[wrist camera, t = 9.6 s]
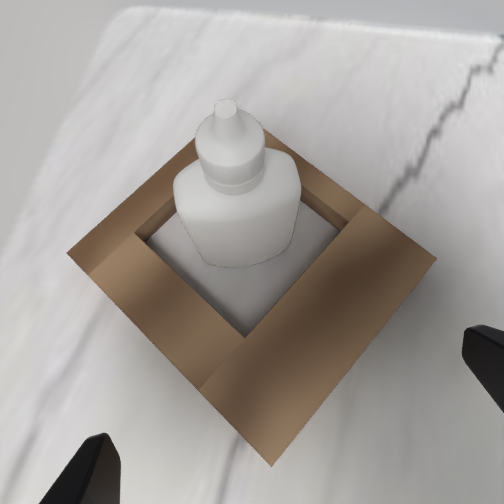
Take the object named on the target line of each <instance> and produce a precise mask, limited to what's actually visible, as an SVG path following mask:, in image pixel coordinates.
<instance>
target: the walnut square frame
mask: <svg viewBox="0 0 504 504" xmlns="http://www.w3.org/2000/svg"><path fill="white" fill-rule="evenodd" d="M263 131H264V134H265V147H266V148H271V149H275V150H279V151H282V152H285V153H286V154H288V155H290V156H291V157H292V159H293V160H294V162H295V165H296V168H297V171H298V174H299V178H300V183H301V197H300V200H301V201H303V202H304V203H305V204H306V205H308V206H309V207H310V208H311V209H313V210H314V211H315V212H317V213H318V214H319V215H320V216H322V217H323V218H324V219H325V220H327V221H328V222H329V223H331V224H332V225H333V226H334V227H336V228H337V229H338V230H339V231H341V232H340V233H339V234H338V235H337V236H336V237H335V239H334V240H333V241H332V242H331V243H330V244H329V245H328V246H327V247H326V249H325V250H324V251H323V252H322V253H321V254H320V255H319V256H318V257H317V259H316V260H315V261H314V262H313V263H312V264H311V265H310V266H309V268H308V269H307V270H306V271H305V272H304V273H303V274H302V275H301V276H300V278H299V279H298V280H297V281H296V282H295V283H294V284H293V285H292V286H291V288H290V289H289V290H288V291H287V292H286V293H285V294H284V295H283V297H282V298H281V299H280V300H279V301H278V302H277V303H276V304H275V305H274V307H273V308H272V309H271V310H270V311H269V312H268V313H267V314H266V315H265V317H264V318H263V319H262V320H261V321H260V322H259V323H258V324H257V326H256V327H255V328H254V329H253V330H252V331H251V332H250V333H249V334H248V336H247V337H246V338H244V337H243V336H242V335H241V334H240V333H239V332H238V331H237V330H235V329H234V328H233V327H232V326H231V325H230V324H229V323H228V322H227V321H226V320H225V319H224V318H223V317H222V316H221V315H220V314H219V313H218V312H217V311H215V310H214V309H213V308H212V307H211V306H210V305H209V304H208V303H207V302H206V301H205V300H204V299H203V298H202V297H201V296H200V295H199V294H198V293H197V292H196V291H194V290H193V289H192V288H191V287H190V286H189V285H188V284H187V283H186V282H185V281H184V280H183V279H182V278H181V277H180V276H179V275H178V274H177V273H176V272H175V271H173V270H172V269H171V268H170V267H169V266H168V265H167V264H166V263H165V262H164V261H163V260H162V259H161V258H160V257H159V256H158V255H157V254H156V253H155V252H153V251H152V250H151V249H150V248H149V247H148V246H147V245H146V244H145V243H144V242H145V241H146V240H147V239H148V238H149V237H150V236H151V235H152V234H154V233H155V232H156V231H157V230H158V229H159V228H160V227H161V226H162V225H163V224H164V223H165V222H166V221H167V220H168V219H169V218H170V217H171V216H173V215H174V214H175V213H176V212H177V210H176V205H175V199H174V192H173V183H174V178H175V177H176V176H177V175H178V173H179V172H180V171H182V170H183V169H184V168H185V167H187V166H188V165H190V164H191V163H193V162H194V161H196V160H197V159H199V157H198V154H197V151H196V147H195V138H194V139H193V140H192V141H191V142H189V143H188V144H187V145H186V146H185V147H184V148H183V149H182V150H180V151H179V152H178V153H177V154H176V155H175V156H174V157H173V158H172V159H170V160H169V161H168V162H167V163H166V164H165V165H164V166H163V167H162V168H160V169H159V170H158V171H157V172H156V173H155V174H154V175H153V176H152V177H150V178H149V179H148V180H147V181H146V182H145V183H144V184H143V185H141V186H140V187H139V188H138V189H137V190H136V191H135V192H134V193H133V194H131V195H130V196H129V197H128V198H127V199H126V200H125V201H124V202H123V203H121V204H120V205H119V206H118V207H117V208H116V209H115V210H114V211H112V212H111V213H110V214H109V215H108V216H107V217H106V218H105V219H104V220H102V221H101V222H100V223H99V224H98V225H97V226H96V227H95V228H94V229H92V230H91V231H90V232H89V233H88V234H87V235H86V236H85V237H84V238H82V239H81V240H80V241H79V242H78V243H77V244H76V245H75V246H73V247H72V248H71V249H70V250H69V251H68V252H67V254H68V255H69V256H70V257H71V258H72V259H73V260H74V261H75V262H76V264H77V265H78V266H79V267H80V268H81V269H82V270H83V271H84V272H85V273H86V274H87V275H88V276H89V277H90V278H91V279H92V280H93V281H94V282H95V283H96V284H97V285H98V286H99V288H100V289H101V290H102V291H103V292H104V293H105V294H106V295H107V296H108V297H109V298H110V299H111V300H112V301H113V302H114V303H115V304H116V305H117V306H118V307H119V308H120V309H121V310H122V312H123V313H124V314H125V315H126V316H127V317H128V318H129V319H130V320H131V321H132V322H133V323H134V324H135V325H136V326H137V327H138V328H139V329H140V330H141V331H142V332H143V333H144V334H145V336H146V337H147V338H148V339H149V340H150V341H151V342H152V343H153V344H154V345H155V346H156V347H157V348H158V349H159V350H160V351H161V352H162V353H163V354H164V355H165V356H166V357H167V358H168V360H169V361H170V362H171V363H172V364H173V365H174V366H175V367H176V368H177V369H178V370H179V371H180V372H181V373H182V374H183V375H184V376H185V377H186V378H187V379H188V380H189V381H190V382H191V383H192V385H193V386H194V387H195V388H196V389H197V390H198V391H199V392H200V393H201V394H202V395H203V396H204V397H205V398H206V399H207V400H208V401H209V402H210V403H211V404H212V405H213V406H214V407H215V409H216V410H217V411H218V412H219V413H220V414H221V415H222V416H223V417H224V418H225V419H226V420H227V421H228V422H229V423H230V424H231V425H232V426H233V427H234V428H235V429H236V430H237V431H238V433H239V434H240V435H241V436H242V437H243V438H244V439H245V440H246V441H247V442H248V443H249V444H250V445H251V446H252V447H253V448H254V449H255V450H256V451H257V452H258V453H259V454H260V455H261V457H262V458H263V459H264V460H265V461H266V462H267V463H268V464H269V465H270V466H271V467H272V466H273V465H274V463H275V462H276V461H277V459H278V458H279V457H280V456H281V454H282V453H283V452H284V451H285V449H286V448H287V447H288V446H289V444H290V443H291V442H292V441H293V439H294V438H295V437H296V436H297V434H298V433H299V432H300V431H301V429H302V428H303V427H304V425H305V424H306V423H307V422H308V420H309V419H310V418H311V417H312V415H313V414H314V413H315V412H316V410H317V409H318V408H319V407H320V405H321V404H322V403H323V402H324V400H325V399H326V398H327V397H328V395H329V394H330V393H331V391H332V390H333V389H334V388H335V386H336V385H337V384H338V383H339V381H340V380H341V379H342V378H343V376H344V375H345V374H346V373H347V371H348V370H349V369H350V368H351V366H352V365H353V364H354V363H355V361H356V360H357V359H358V357H359V356H360V355H361V354H362V352H363V351H364V350H365V349H366V347H367V346H368V345H369V344H370V342H371V341H372V340H373V339H374V337H375V336H376V335H377V334H378V332H379V331H380V330H381V329H382V327H383V326H384V325H385V323H386V322H387V321H388V320H389V318H390V317H391V316H392V315H393V313H394V312H395V311H396V310H397V308H398V307H399V306H400V305H401V303H402V302H403V301H404V300H405V298H406V297H407V296H408V295H409V293H410V292H411V291H412V289H413V288H414V287H415V286H416V284H417V283H418V282H419V281H420V279H421V278H422V277H423V276H424V274H425V273H426V272H427V271H428V269H429V268H430V267H431V266H432V264H433V263H434V262H435V261H436V259H437V258H436V257H434V256H433V255H432V254H430V253H429V252H428V251H426V250H425V249H424V248H422V247H421V246H420V245H418V244H417V243H416V242H414V241H413V240H412V239H410V238H409V237H408V236H406V235H405V234H404V233H402V232H401V231H400V230H398V229H397V228H396V227H394V226H393V225H392V224H390V223H389V222H388V221H386V220H385V219H384V218H382V217H381V216H380V215H378V214H377V213H376V212H374V211H373V210H372V209H370V208H369V207H368V206H366V205H365V204H364V203H362V202H361V201H360V200H358V199H357V198H356V197H354V196H353V195H352V194H350V193H349V192H348V191H346V190H345V189H344V188H342V187H341V186H339V185H338V184H337V183H335V182H334V181H333V180H331V179H330V178H329V177H327V176H326V175H325V174H323V173H322V172H321V171H319V170H318V169H317V168H315V167H314V166H313V165H311V164H310V163H309V162H307V161H306V160H305V159H303V158H302V157H301V156H299V155H298V154H297V153H295V152H294V151H293V150H291V149H290V148H289V147H287V146H286V145H285V144H283V143H282V142H281V141H279V140H278V139H277V138H275V137H274V136H273V135H271V134H270V133H269V132H267V131H266V130H265V129H263Z"/></svg>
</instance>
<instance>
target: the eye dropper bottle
mask: <svg viewBox="0 0 504 504" xmlns="http://www.w3.org/2000/svg"><path fill="white" fill-rule="evenodd" d="M195 147H196V151H197V154H198V157H199V159H197V160H196V161H194V162H193V163H191V164H190V165H188V166H187V167H185V168H184V169H183V170H182V171H180V172H179V173H178V175H177V176H176V177H175V178H174V183H173V192H174V199H175V205H176V210H177V213H178V215H179V217H180V219H181V221H182V223H183V225H184V227H185V229H186V231H187V232H188V234H189V236H190V238H191V239H192V241H193V243H194V245H195V246H196V248H197V250H198V252H199V253H200V255H201V257H202V258H203V260H204V261H205V262H207V263H208V264H211V265H215V266H221V267H245V266H250V265H255V264H258V263H261V262H264V261H266V260H269V259H271V258H273V257H274V256H276V255H278V254H280V253H281V252H283V251H284V250H285V249H286V248H287V247H288V246H289V244H290V242H291V238H292V234H293V230H294V225H295V221H296V217H297V212H298V208H299V202H300V197H301V183H300V178H299V174H298V171H297V168H296V165H295V162H294V160H293V159H292V157H291V156H290V155H288V154H286V153H285V152H282V151H279V150H275V149H271V148H266V147H265V134H264V131H263V128H262V125H261V124H260V122H258V120H257V119H256V118H255V117H253V116H252V115H250V114H248V113H246V112H244V111H241V110H238V108H237V106H236V104H235V103H234V102H233V101H232V100H229V99H223V100H220V101H218V102H217V103H216V104H215V106H214V114H212V115H210V116H209V117H207V118H206V119H205V120H204V121H203V122H202V123H201V124H200V126H199V127H198V130H197V132H196V136H195Z"/></svg>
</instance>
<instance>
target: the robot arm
mask: <svg viewBox="0 0 504 504" xmlns="http://www.w3.org/2000/svg"><path fill="white" fill-rule="evenodd" d="M462 357H463V359H464V361H465V363H466V364H467V366H468V367H469V368H470V370H471V371H472V372H473V374H474V375H475V376H476V377H477V379H478V380H479V381H480V383H481V384H482V385H483V387H484V388H485V389H486V391H487V392H488V393H489V395H490V396H491V397H492V398H493V400H494V401H495V402H496V404H497V405H498V406H499V408H500V409H501V410H502V411H503V413H504V331H501V330H498V329H495V328H492V327H489V326H486V325H476V326H473V327H469V328H467V329H466V330H465V331H464V337H463V345H462ZM120 477H121V461H120V457H119V454H118V452H117V450H116V448H115V446H114V444H113V442H112V440H111V438H110V436H109V435H108V434H107V433H101V434H98V435H94V436H91V437H89V438H87V439H86V440H85V441H84V442H83V444H82V445H81V447H80V448H79V449H78V451H77V452H76V453H75V455H74V456H73V458H72V459H71V460H70V462H69V463H68V464H67V466H66V467H65V468H64V470H63V471H62V473H61V474H60V475H59V477H58V478H57V479H56V481H55V482H54V484H53V485H52V486H51V488H50V489H49V490H48V492H47V493H46V495H45V496H44V497H43V499H42V500H41V501H40V503H39V504H120Z"/></svg>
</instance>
